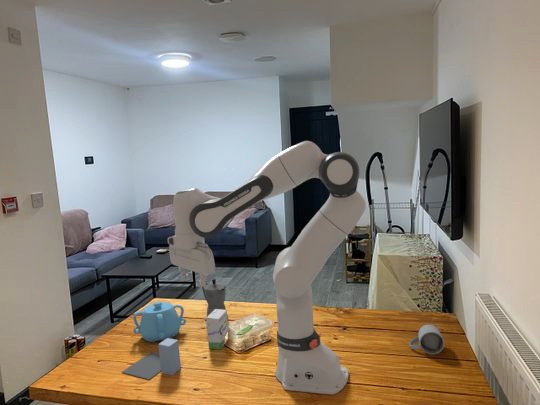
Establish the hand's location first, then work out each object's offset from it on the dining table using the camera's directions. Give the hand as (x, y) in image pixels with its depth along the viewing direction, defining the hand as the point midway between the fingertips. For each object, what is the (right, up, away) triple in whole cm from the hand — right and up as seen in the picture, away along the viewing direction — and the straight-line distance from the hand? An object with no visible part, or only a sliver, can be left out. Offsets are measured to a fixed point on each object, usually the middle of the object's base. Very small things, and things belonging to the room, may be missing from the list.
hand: (193, 282), depth 130 cm
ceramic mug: (+77, -24, +8) cm, 81 cm away
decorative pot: (-19, -27, +31) cm, 45 cm away
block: (-8, -30, +5) cm, 32 cm away
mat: (-16, -30, +9) cm, 35 cm away
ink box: (+6, -27, +21) cm, 35 cm away
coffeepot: (+2, -24, +42) cm, 49 cm away
